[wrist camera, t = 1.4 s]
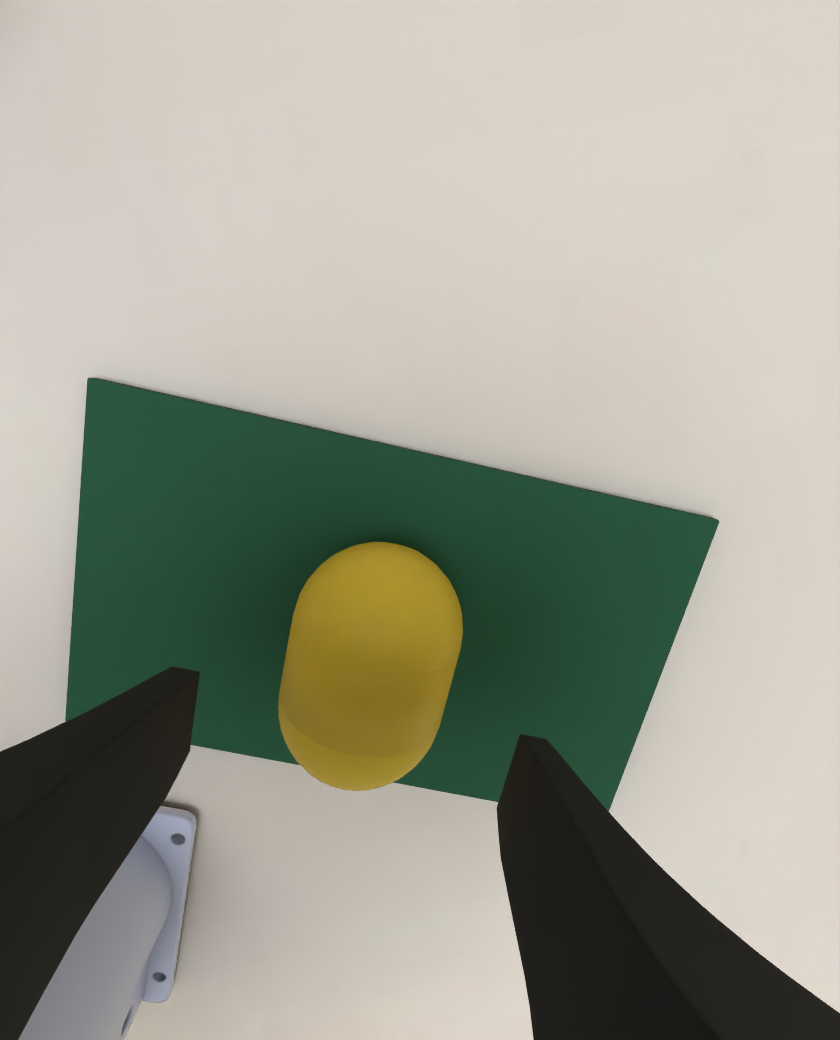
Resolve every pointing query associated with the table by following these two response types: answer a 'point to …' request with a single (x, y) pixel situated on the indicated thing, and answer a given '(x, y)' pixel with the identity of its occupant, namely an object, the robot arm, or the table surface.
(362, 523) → the cloth
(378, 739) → the yellow capsule toy
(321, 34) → the table surface
